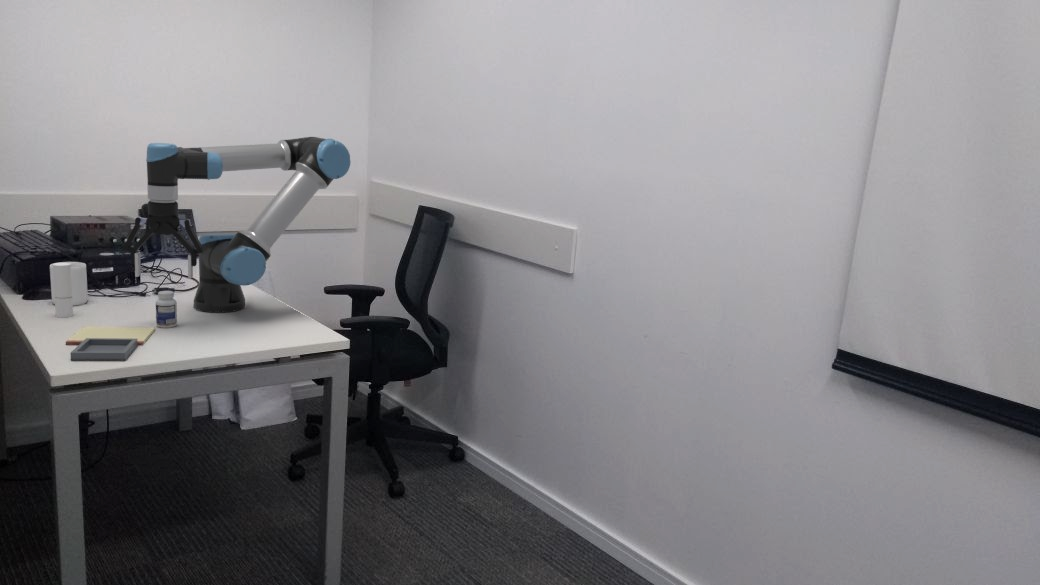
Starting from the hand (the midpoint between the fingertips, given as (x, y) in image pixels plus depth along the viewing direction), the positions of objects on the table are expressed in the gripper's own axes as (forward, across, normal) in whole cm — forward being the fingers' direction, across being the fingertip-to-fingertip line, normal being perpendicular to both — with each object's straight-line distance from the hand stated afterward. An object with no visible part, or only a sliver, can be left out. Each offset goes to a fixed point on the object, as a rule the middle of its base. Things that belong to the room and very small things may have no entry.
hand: (164, 276), depth 216 cm
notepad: (+14, +11, +12) cm, 21 cm away
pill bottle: (+14, 0, 0) cm, 14 cm away
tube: (+15, +29, -9) cm, 33 cm away
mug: (+14, +32, -25) cm, 43 cm away
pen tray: (+14, +9, +25) cm, 30 cm away
